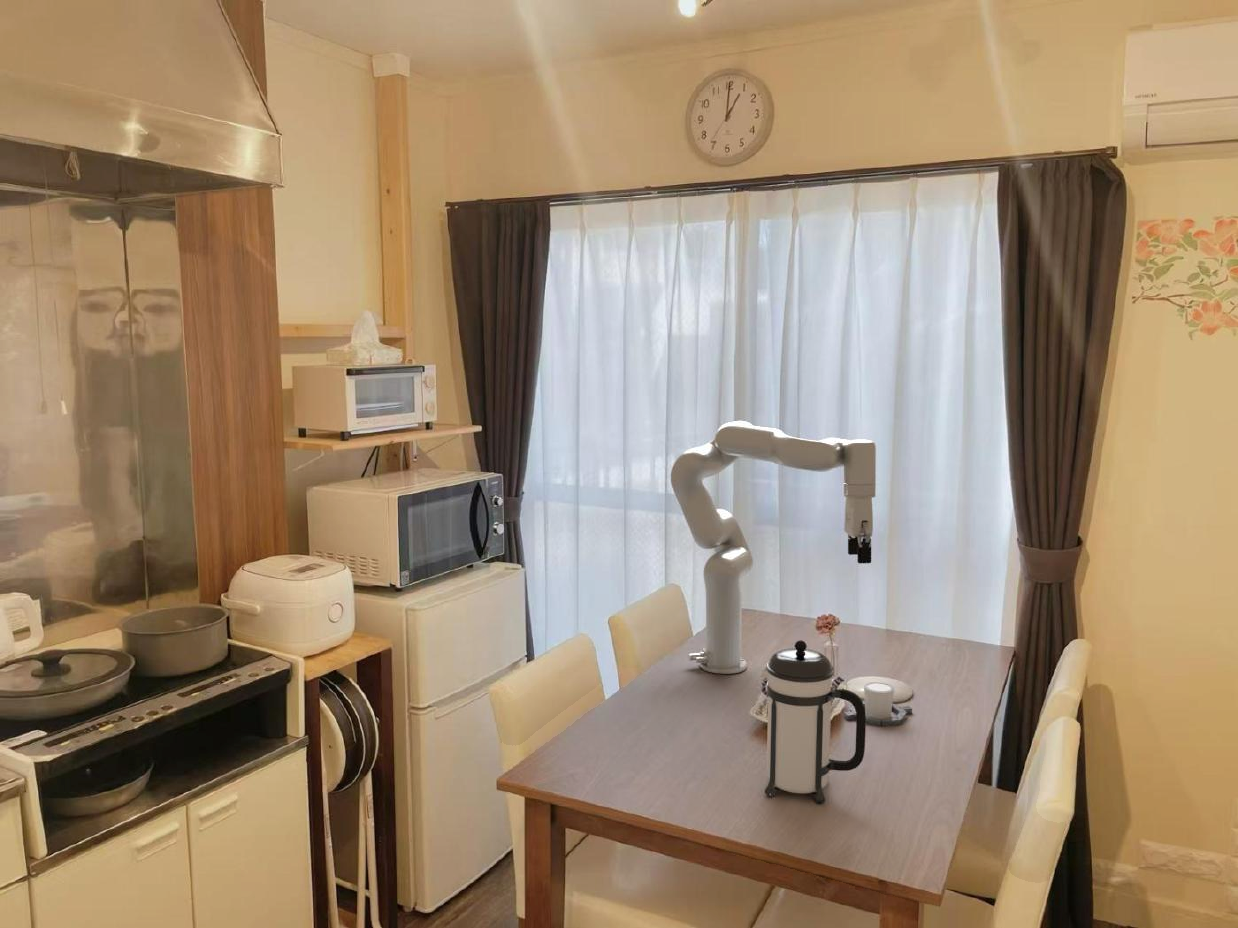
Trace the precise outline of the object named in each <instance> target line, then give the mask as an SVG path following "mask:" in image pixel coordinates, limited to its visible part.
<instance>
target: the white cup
mask: <svg viewBox="0 0 1238 928" xmlns="http://www.w3.org/2000/svg"><path fill="white" fill-rule="evenodd" d="M864 694H865V700H864V701H865V713H866V716H869V717H874V718H879V719H885V718H892V717H891V716H892V703H893V695H894V687H893V686H891V685H889V684H886V683H881V682H871V683H867V684H865V685H864ZM893 704H894V703H893Z"/></svg>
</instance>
